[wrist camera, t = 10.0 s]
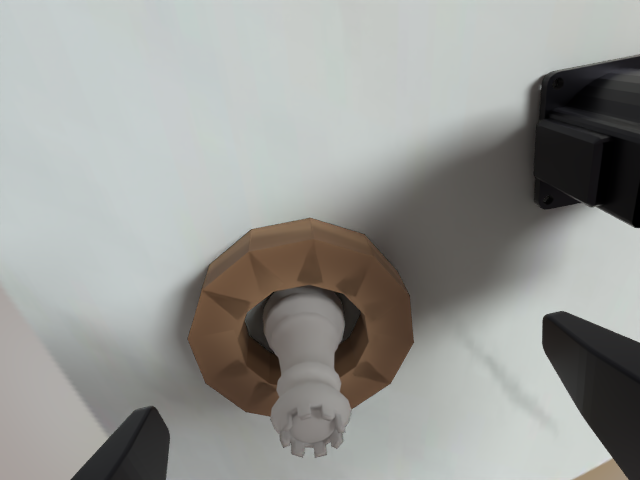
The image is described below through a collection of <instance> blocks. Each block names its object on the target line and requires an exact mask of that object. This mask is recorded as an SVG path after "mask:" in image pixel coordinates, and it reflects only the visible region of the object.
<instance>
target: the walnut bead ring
mask: <svg viewBox="0 0 640 480" xmlns="http://www.w3.org/2000/svg"><path fill="white" fill-rule="evenodd" d="M306 285H312V286H316V287H320V288H324V289H327V290H331V291H335V292H339V293H343V294H344V295H345V296H346V297H347V298H348V299H349V300H350V301H351V302H352V303H353V304H354V305H355V306H356V307H357V308H358V309H359V310H360V313H361V314H360V316H359V318H358V321H357V323H356V325H355V327H354V329H353V331H352V333H351V335H350V337H349V338H348V339H346V340H345V341H343V342H342V343H341V344H339V345H338V348H337V350H336V351H335V354H334V370H335V372H336V373H337V374H338V375H339V378H340V381H341V388H340V393H341V394H342V395H343V396H345V397H346V398H347V399H348V401H349V404H350V407H351V409H353V408H354V407H356V406H357V405H359V404H360V403H362V402H363V401H365V400H366V399H368V398H370V397H371V396H373V395H374V394H376V393H377V392H379V391H380V390H382V389H383V388H385V387H386V386H388V385H389V384H391V382H392V380H393V378H394V377H395V375H396V373H397V371H398V370H399V368H400V366H401V364H402V363H403V361H404V359H405V357H406V355H407V354H408V352H409V350H410V348H411V347H412V345H413V343H414V339H413V328H412V317H411V306H410V295H409V293H408V291H407V289H406V287H405V285H404V283H403V281H402V279H401V277H400V275H399V274H398V272H397V270H396V269H395V268H394V267H393V266H392V265H391V264H390V263H389V261H388V260H387V259H386V258H385V257H384V256H383V255H382V254H381V252H380V251H379V250H378V249H377V248H376V247H375V246H374V245H373V243H372V242H371V241H370V240H369V239H368V238H367V237H366V236H365V234H361V233H358V232H355V231H352V230H348V229H345V228H342V227H338V226H335V225H332V224H329V223H325V222H322V221H319V220H315V219H312V218H307V219H302V220H297V221H292V222H287V223H282V224H276V225H271V226H266V227H261V228H256V229H251V230H250V231H249V232H248V233H247V234H246V235H244V236H243V237H242V238H241V239H240V240H238V241H237V242H236V243H235V244H234V245H232V246H231V247H230V248H229V249H228V250H227V251H225V252H224V253H223V254H222V255H221V256H219V257H218V258H217V259H216V260H215V261H213V262H212V263H211V264H210V265H209V268H208V271H207V274H206V277H205V281H204V284H203V287H202V290H201V295H200V298H199V302H198V305H197V309H196V312H195V316H194V319H193V323H192V326H191V329H190V332H189V336H188V341H189V344H190V346H191V349H192V351H193V354H194V356H195V359H196V361H197V363H198V366H199V368H200V371H201V373H202V376H203V378H204V381H205V383H206V384H207V385H209V386H210V387H212V388H213V389H214V390H216V391H217V392H219V393H220V394H221V395H223V396H224V397H226V398H227V399H228V400H230V401H231V402H233V403H234V404H235V405H237V406H238V407H240V408H241V409H242V410H244V411H245V412H249V413H254V414H260V415H265V416H270V417H271V410H272V407H273V406H274V404H275V403H276V401H277V400H278V399H279V395H278V393H277V382H278V380H279V378H280V377H281V368H280V363H279V358H278V357H277V356H276V355H275V354H274V353H270V352H269V351H267V350H266V349H265V348H264V347H263V346H261V345H260V344H259V343H258V342H256V341H255V340H254V339H253V338H252V337H250V336H249V333H248V330H247V327H246V324H245V321H244V320H245V317H246V314H247V312H248V311H250V310H251V309H252V308H253V307H255V306H256V305H257V304H259V303H260V302H261V301H262V300H264V299H265V298H266V297H268V296H269V295H270V294H271V293H273V292H275V291H280V290H285V289H290V288H295V287H301V286H306Z"/></svg>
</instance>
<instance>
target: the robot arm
mask: <svg viewBox="0 0 640 480" xmlns="http://www.w3.org/2000/svg"><path fill="white" fill-rule="evenodd" d="M555 79H558V85H557V86H556V87H555V88H554V89H553V86H552V84H553V82H554V80H555ZM534 176H535V177H536V180H535V196H534V201H535V203H536V205H537V206H539V207H541V208H543V209H551V208H557V207H562V206H567V205H572V204H577V203H583V204H585V205H587V206H589V207H597V208H599V209H601V210H603V211H604V212H606V213H608V214H610V215H612V216H614V217H616V218H618V219H619V220H621V221H623V222H625V223H627V224H629V225H631V226H633V227H634V228H640V54H639V55H634V56H629V57H624V58H619V59H614V60H608V61H603V62H598V63H593V64H588V65H583V66H578V67H572V68H567V69H562V70H557V71H553V72H550V73H549V74H547V75H546V76H545V78H544V79H543V82H542V88H541V104H540V119H539V123H538V125H537V127H536V142H535V158H534ZM548 195H549V198H548V199H547V201H545V202H544V198H545V197H546V196H548ZM542 345H543V349H544V351H545V353H546V355H547V357H548V359H549V360H550V362H551V364H552V366H553V367H554V369H555V371H556V372H557V374H558V376H559V378H560V379H561V381H562V383H563V384H564V386H565V388H566V390H567V391H568V393H569V395H570V396H571V398H572V400H573V401H574V403H575V405H576V406H577V408H578V410H579V411H580V413H581V415H582V416H583V417H584V419H585V420H586V422H587V423H588V425H589V426H590V427H591V429H592V430H593V432H594V433H595V434H596V436H597V437H598V438H599V440H600V441H601V442H602V444H603V445H604V447H605V448H606V449H607V451H608V452H609V453H610V455H611V456H612V457H613V459H614V460H615V461H616V463H617V464H618V466H619V467H620V468H621V470H622V471H623V472H624V474H625V475H626V477H627V478H628V479H629V480H640V343H639V342H637V341H634V340H632V339H630V338H627V337H625V336H622V335H620V334H618V333H615V332H613V331H610V330H608V329H606V328H603V327H601V326H598V325H596V324H594V323H591V322H589V321H586V320H584V319H582V318H579V317H577V316H574V315H572V314H570V313H567V312H564V311H559V312H555V313H550V314H547V315H545V316H544V317H543V325H542ZM169 443H170V434H169V430H168V428H167V426H166V424H165V422H164V421H163V419H162V417H161V416H160V414H159V412H158V410H157V409H156V408H155V407H153V406H148V407H144V408H140V409H137V410H135V411H134V412H133V413H132V414H131V415H130V416H129V417H128V418H127V419H126V420H125V421H124V422H123V423H122V424H121V425H120V427H119V428H118V429H117V430H116V431H115V432H114V433H113V434H112V435H111V436H110V437H109V438H108V440H107V441H106V442H105V443H104V444H103V445H102V446H101V447H100V448H99V449H98V450H97V452H96V453H95V454H94V455H93V456H92V457H91V458H90V459H89V460H88V461H87V462H86V464H85V465H84V466H83V467H82V468H81V469H80V470H79V471H78V472H77V473H76V474H75V476H74V477H73V478H72V479H71V480H166V473H167V463H168V453H169Z"/></svg>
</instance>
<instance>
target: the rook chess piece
mask: <svg viewBox="0 0 640 480" xmlns="http://www.w3.org/2000/svg"><path fill="white" fill-rule="evenodd" d="M263 323H264V328H263V332H264V334H265V337H266V339H267V342H268V344H269V347H270V348H271V349H272V350H273V351H274V353H275V355H276V356H277V357H278V358H279V363H280V368H281V377H280V378H279V380H278V382H277V393H278V395H279V399H278V400H277V401H276V403H275V404H274V406H273V407H272V410H271V418H270V420H271V422H272V424H273V427H274V429H275V430H276V431H277V432H278V433H279V434H280V441H281V444H282V446H283V448H285V447H287V446H289V445H290V443H291V454H292V455H296V456H299V457H302V458H303V456H304V453H305V447H310V448H314V454H315V458H316V457H320V456H324V455H327V451H326V444H328V443H330V442H331V446H332V447H334V448H336V449H337V448H338V447H339V446H340V445H341V444H342V442H343V434H342V433H344V432H345V427H346V425H347V424H348V423H349V420H350V416H351V412H352V410H351V407H350V404H349V401H348V399H347V398H346V397H345V396H343V395H342V394H341V393H340V388H341V381H340V378H339V375H338V374H337V373H336V372H335V370H334V354H335V351H336V350H337V348H338V345H339V343H340V342H341V341H342V337H343V333H344V328H345V320H344V309H343V306H342V303H341V300H340V299H339V298H338V297H337V296H336V294H335V293H334V292H333V291H331V290H327V289H324V288H320V287H316V286H312V285H306V286H301V287H295V288H290V289H285V290H280V291H277V292H276V293H274V294H273V295H271V297H270V299H269V300H268V302H267V303H266V305H265V307H264V312H263Z"/></svg>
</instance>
